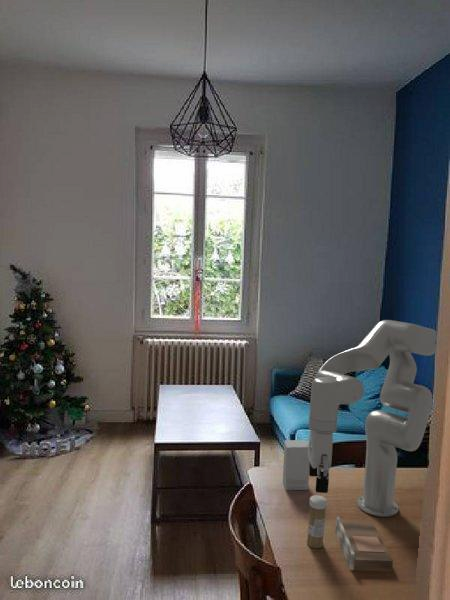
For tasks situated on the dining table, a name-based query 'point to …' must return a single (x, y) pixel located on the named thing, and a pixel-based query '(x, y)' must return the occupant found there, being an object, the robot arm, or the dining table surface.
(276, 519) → the dining table surface
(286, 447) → the skincare box
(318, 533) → the sprinkles bottle
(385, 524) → the dining table surface
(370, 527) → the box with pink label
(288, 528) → the dining table surface
